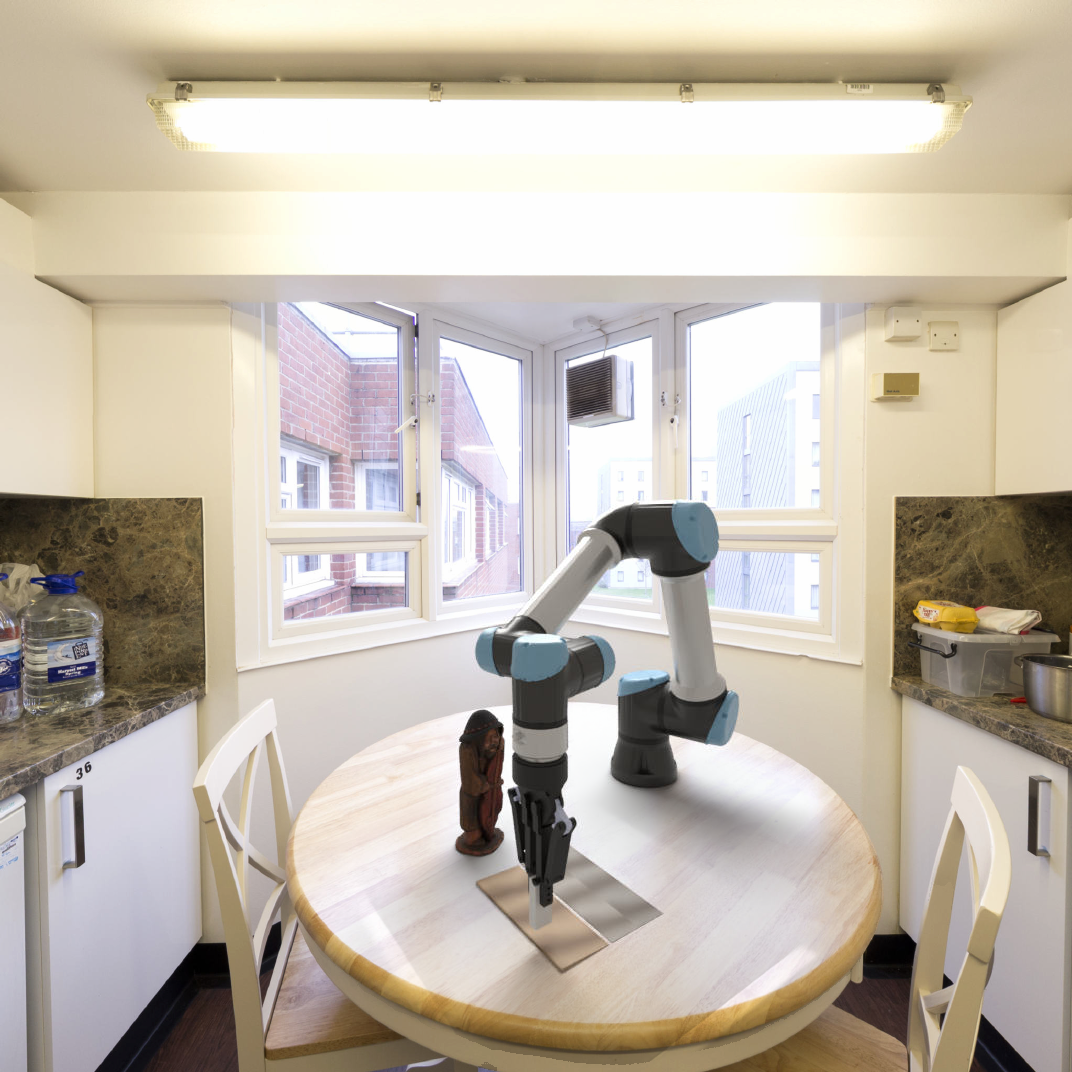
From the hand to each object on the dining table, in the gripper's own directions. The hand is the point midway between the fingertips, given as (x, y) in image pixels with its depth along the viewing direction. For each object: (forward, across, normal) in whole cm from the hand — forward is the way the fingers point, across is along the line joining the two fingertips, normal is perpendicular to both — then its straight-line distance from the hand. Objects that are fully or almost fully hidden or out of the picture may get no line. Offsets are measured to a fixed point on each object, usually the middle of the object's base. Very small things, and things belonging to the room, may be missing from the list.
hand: (540, 923), depth 79 cm
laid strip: (+4, -5, +13) cm, 14 cm away
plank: (+4, -5, +3) cm, 7 cm away
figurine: (+4, -26, +6) cm, 27 cm away
